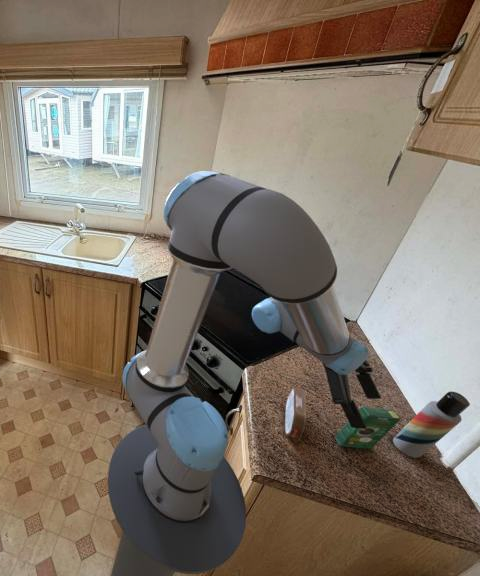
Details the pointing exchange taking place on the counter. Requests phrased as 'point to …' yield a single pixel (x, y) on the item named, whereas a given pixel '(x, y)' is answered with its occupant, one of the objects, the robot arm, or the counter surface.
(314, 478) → the counter surface
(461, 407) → the lotion bottle
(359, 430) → the coffee box
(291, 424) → the tin
